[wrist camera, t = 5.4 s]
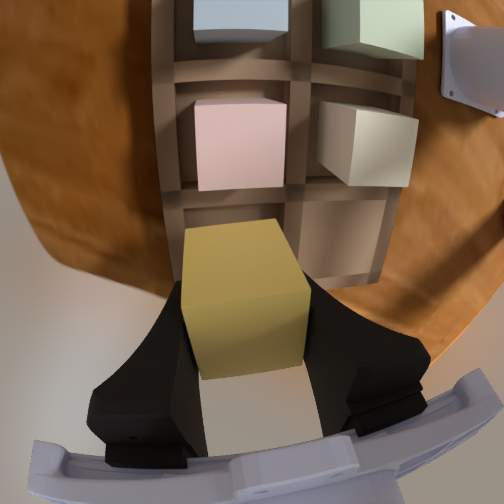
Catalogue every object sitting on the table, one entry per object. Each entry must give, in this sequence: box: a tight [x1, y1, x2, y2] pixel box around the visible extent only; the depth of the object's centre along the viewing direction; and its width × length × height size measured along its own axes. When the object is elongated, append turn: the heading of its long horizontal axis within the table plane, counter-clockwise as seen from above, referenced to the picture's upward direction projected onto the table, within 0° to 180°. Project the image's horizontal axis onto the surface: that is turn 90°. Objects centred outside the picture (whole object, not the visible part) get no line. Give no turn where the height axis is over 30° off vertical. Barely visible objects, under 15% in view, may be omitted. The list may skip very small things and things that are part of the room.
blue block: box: [194, 0, 288, 44], centre depth 11 cm, size 4×4×5 cm
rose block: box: [194, 98, 287, 191], centre depth 15 cm, size 4×4×5 cm
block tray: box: [151, 0, 417, 290], centre depth 17 cm, size 16×24×2 cm
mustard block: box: [181, 218, 311, 380], centre depth 12 cm, size 4×4×5 cm
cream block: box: [316, 101, 419, 187], centre depth 16 cm, size 4×4×5 cm
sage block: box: [321, 0, 424, 60], centre depth 12 cm, size 4×4×5 cm
